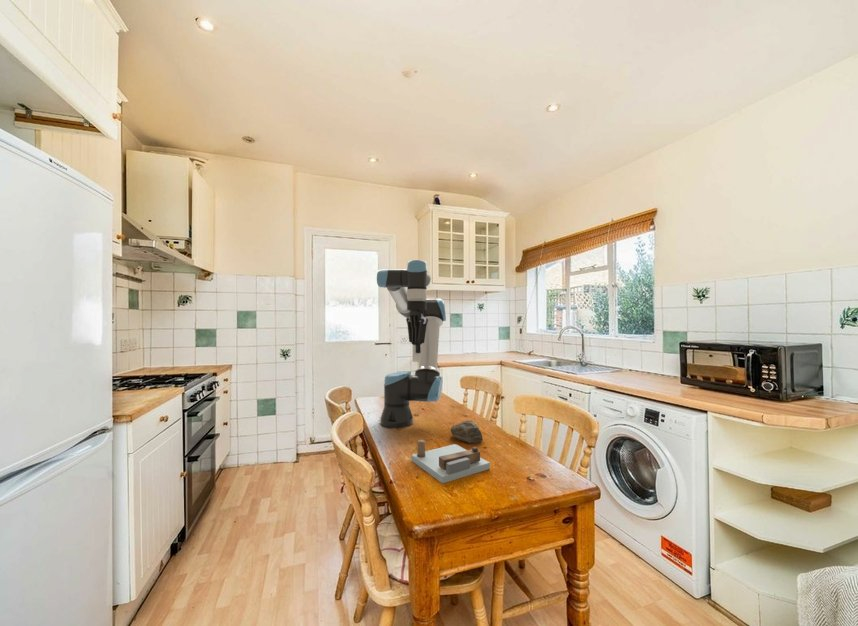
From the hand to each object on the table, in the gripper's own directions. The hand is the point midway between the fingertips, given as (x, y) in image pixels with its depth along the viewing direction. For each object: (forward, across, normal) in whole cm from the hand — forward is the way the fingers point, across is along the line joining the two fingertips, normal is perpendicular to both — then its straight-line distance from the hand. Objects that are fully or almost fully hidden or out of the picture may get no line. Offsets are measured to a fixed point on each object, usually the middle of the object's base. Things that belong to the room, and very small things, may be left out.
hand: (416, 361), depth 134 cm
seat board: (+32, -21, -1) cm, 39 cm away
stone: (+33, -5, -21) cm, 39 cm away
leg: (+30, -27, -1) cm, 40 cm away
